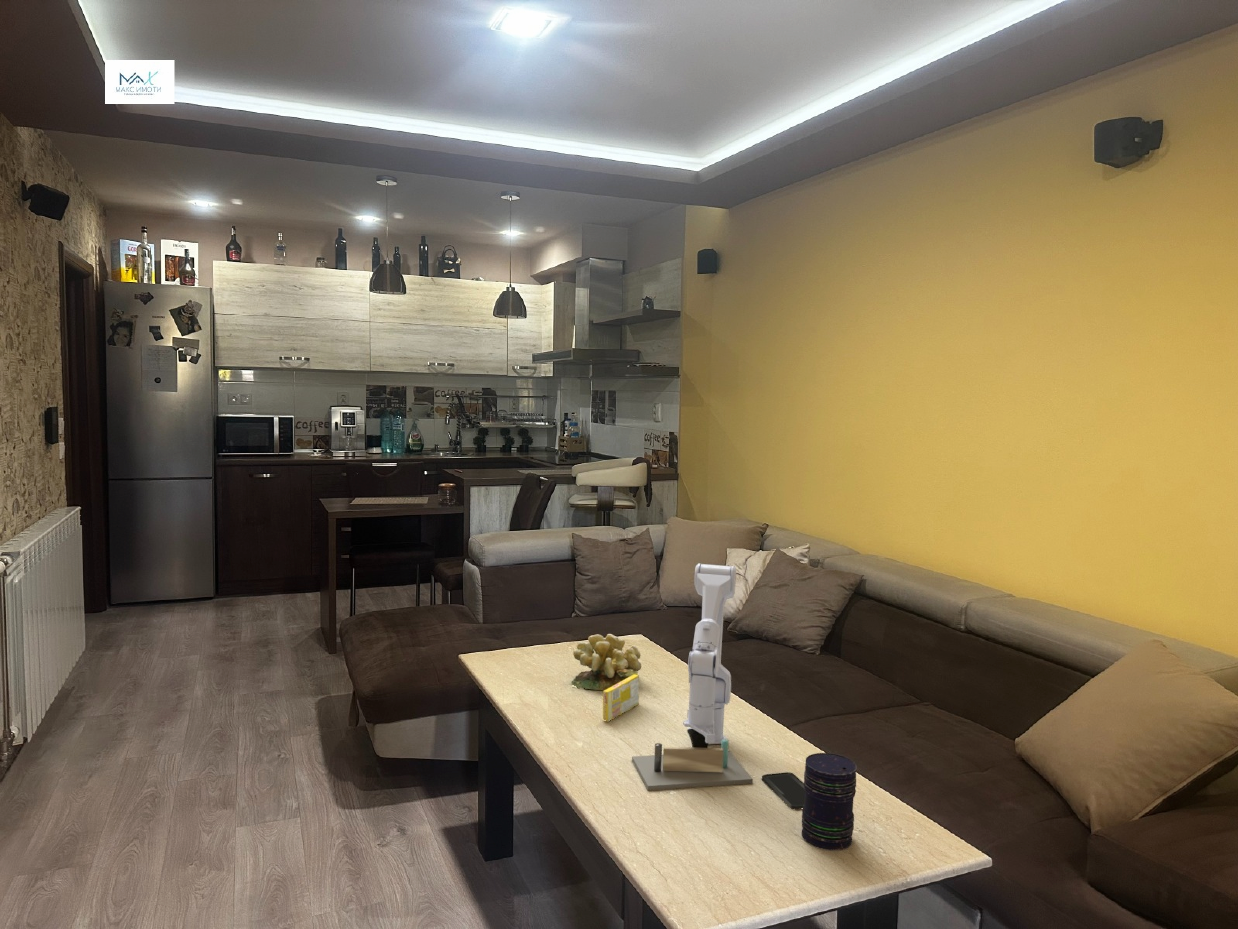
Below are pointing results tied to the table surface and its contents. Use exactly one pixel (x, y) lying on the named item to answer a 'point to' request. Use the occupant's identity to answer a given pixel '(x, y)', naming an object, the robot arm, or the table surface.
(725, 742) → the latch post
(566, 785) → the table surface
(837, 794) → the storage jar
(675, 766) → the gate
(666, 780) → the gate board
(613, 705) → the candy box
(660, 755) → the hinge post
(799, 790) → the phone
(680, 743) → the table surface
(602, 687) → the coral
